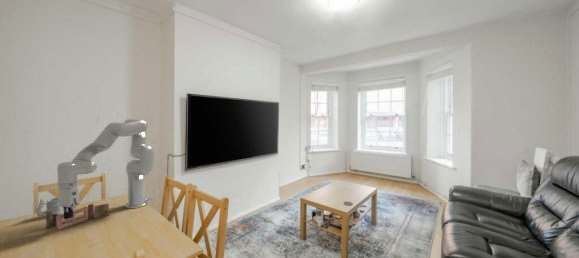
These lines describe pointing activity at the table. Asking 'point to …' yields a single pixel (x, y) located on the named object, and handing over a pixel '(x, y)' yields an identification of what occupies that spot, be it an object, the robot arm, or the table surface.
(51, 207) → the mug
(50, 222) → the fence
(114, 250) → the table surface
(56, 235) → the table surface
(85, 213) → the gate
